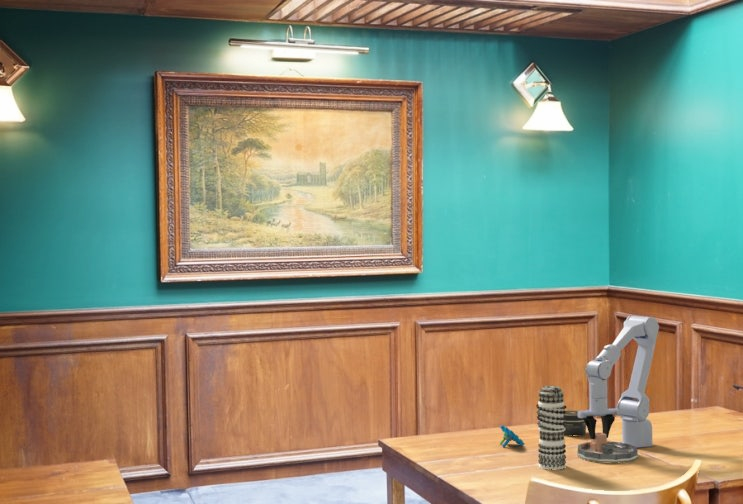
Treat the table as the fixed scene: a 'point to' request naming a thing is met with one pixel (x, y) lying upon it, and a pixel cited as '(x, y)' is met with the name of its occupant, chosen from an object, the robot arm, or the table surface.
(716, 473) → the table surface
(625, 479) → the table surface
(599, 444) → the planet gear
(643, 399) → the robot arm
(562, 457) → the decorative candle
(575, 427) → the jar
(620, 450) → the plate
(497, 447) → the table surface
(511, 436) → the blue t-shaped piece
